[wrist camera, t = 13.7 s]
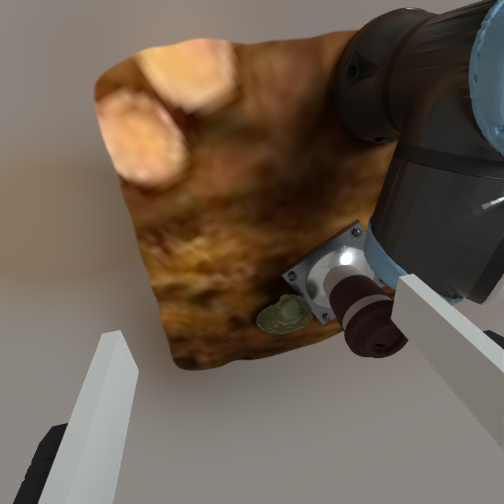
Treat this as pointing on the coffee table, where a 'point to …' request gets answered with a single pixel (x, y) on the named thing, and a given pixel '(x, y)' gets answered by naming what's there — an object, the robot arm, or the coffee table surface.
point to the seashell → (285, 315)
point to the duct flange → (328, 268)
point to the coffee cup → (363, 313)
